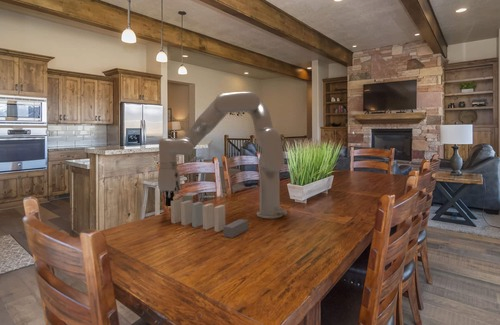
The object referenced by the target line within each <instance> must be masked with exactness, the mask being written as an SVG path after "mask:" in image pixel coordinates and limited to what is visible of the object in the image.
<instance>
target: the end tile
mask: <svg viewBox="0 0 500 325" xmlns="http://www.w3.org/2000/svg"><path fill="white" fill-rule="evenodd" d="M181 202H182V198H177V199H173V201H171V206H170V219H171V220H170V221H171V222H170V223H171V224H177V223H180V222H181Z"/></svg>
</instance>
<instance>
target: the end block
mask: <svg viewBox="0 0 500 325" xmlns="http://www.w3.org/2000/svg"><path fill="white" fill-rule="evenodd" d="M248 230H249V220H248V219H243V218H239V219H237V220H235V221H232V222H231V223H228V224H225V226H224V230H223V237H224V238H230V239H233V238H235V237H237V236H239V235H240V234H243V233H245V232H246V231H248Z"/></svg>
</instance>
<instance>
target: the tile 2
mask: <svg viewBox="0 0 500 325" xmlns="http://www.w3.org/2000/svg"><path fill="white" fill-rule="evenodd" d="M180 222H181V226H188V225H189V224H192V201H190V200H188V201H184V202H181V221H180Z"/></svg>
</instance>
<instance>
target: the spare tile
mask: <svg viewBox="0 0 500 325" xmlns="http://www.w3.org/2000/svg"><path fill="white" fill-rule="evenodd" d="M203 205H204V203H203V201H199V202H197V203H193V204H192V223H191V227H192V228H198V227H201V226H203Z"/></svg>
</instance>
